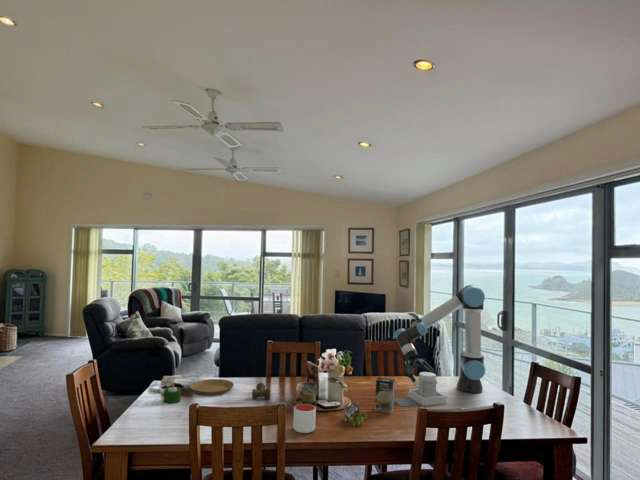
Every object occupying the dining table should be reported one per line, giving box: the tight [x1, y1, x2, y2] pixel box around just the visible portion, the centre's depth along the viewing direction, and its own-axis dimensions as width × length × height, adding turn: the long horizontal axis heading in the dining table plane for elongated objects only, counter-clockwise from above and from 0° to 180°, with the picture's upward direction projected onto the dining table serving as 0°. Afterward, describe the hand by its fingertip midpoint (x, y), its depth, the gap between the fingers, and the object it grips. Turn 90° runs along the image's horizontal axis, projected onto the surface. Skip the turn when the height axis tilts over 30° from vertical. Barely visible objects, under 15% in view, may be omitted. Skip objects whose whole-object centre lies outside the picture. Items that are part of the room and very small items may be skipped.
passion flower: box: [342, 401, 368, 428], centre depth 207 cm, size 11×11×12 cm
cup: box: [292, 403, 317, 434], centre depth 197 cm, size 10×10×10 cm
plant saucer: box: [190, 378, 235, 397], centre depth 248 cm, size 24×24×3 cm
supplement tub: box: [418, 371, 437, 398], centre depth 244 cm, size 10×10×15 cm
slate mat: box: [394, 397, 421, 407], centre depth 240 cm, size 12×12×1 cm
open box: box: [408, 388, 448, 406], centre depth 244 cm, size 15×15×4 cm
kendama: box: [251, 382, 271, 400], centre depth 240 cm, size 6×10×20 cm
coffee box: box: [374, 376, 396, 415], centre depth 225 cm, size 9×6×16 cm
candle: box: [163, 381, 182, 405], centre depth 228 cm, size 8×8×10 cm
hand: (427, 385), depth 244 cm, fingers open, 13 cm apart
